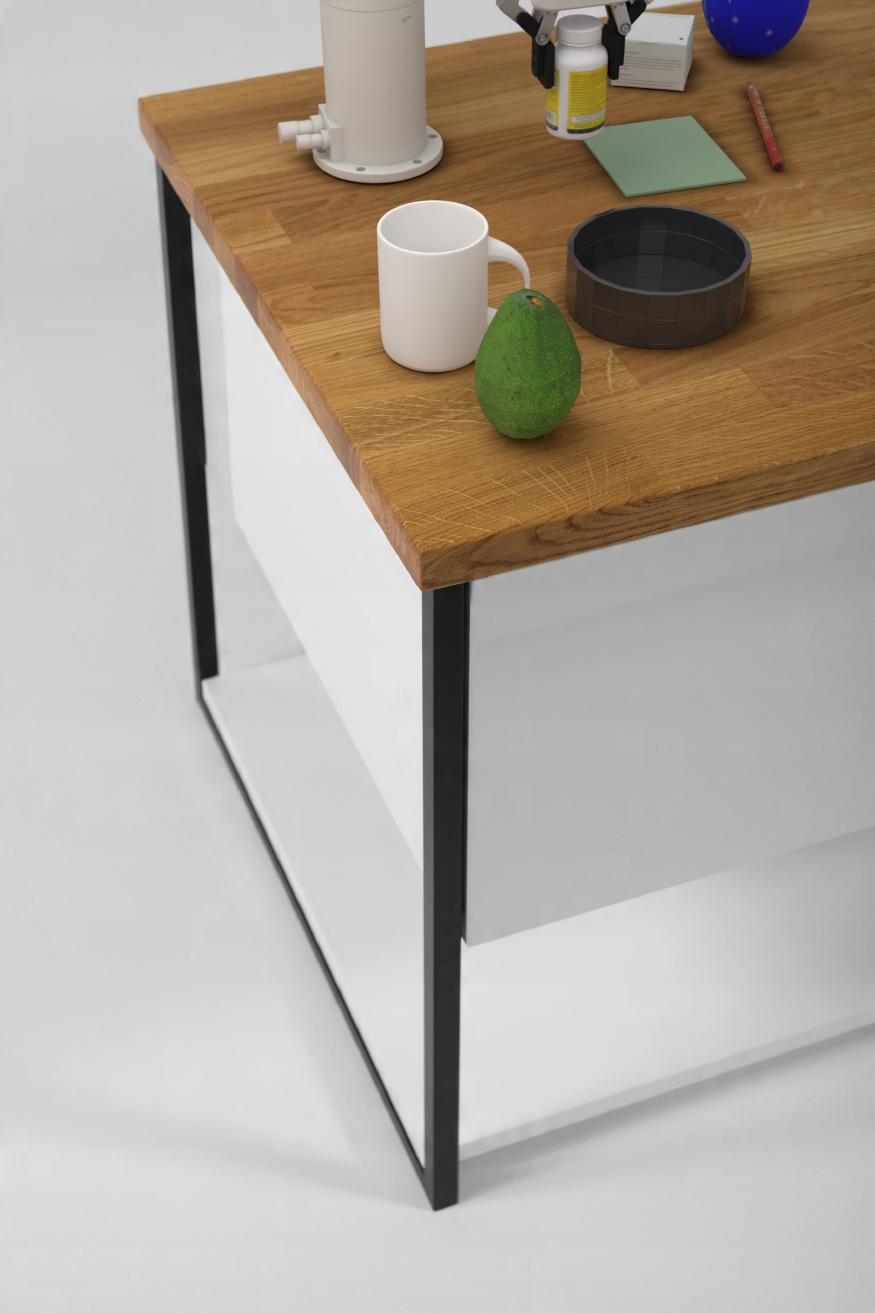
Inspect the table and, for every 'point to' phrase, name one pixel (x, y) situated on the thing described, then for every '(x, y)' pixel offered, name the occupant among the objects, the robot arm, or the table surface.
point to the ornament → (754, 24)
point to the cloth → (662, 157)
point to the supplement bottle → (578, 80)
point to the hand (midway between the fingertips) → (577, 76)
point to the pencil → (764, 127)
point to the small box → (658, 52)
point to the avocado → (527, 366)
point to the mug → (437, 283)
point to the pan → (657, 276)
